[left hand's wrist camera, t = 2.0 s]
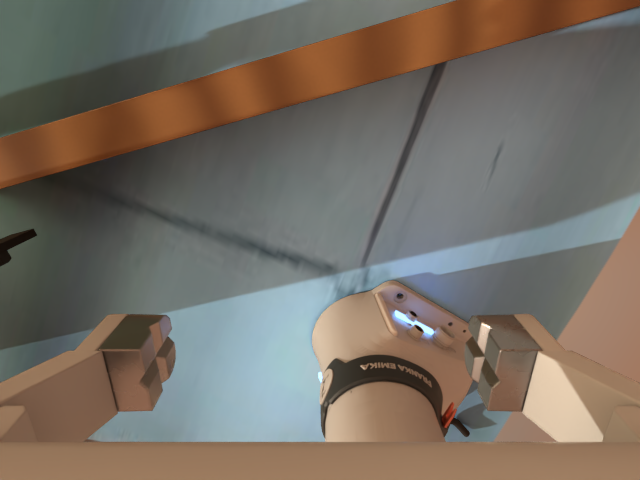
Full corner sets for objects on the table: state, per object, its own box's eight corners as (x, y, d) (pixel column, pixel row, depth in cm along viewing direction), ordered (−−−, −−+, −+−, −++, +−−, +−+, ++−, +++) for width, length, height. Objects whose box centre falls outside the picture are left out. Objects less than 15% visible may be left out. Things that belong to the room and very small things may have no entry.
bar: (658, -54, 36) (717, -79, 30) (655, 0, 37) (712, -15, 32) (-33, 153, 43) (-84, 162, 38) (-11, 190, 45) (-57, 205, 39)
